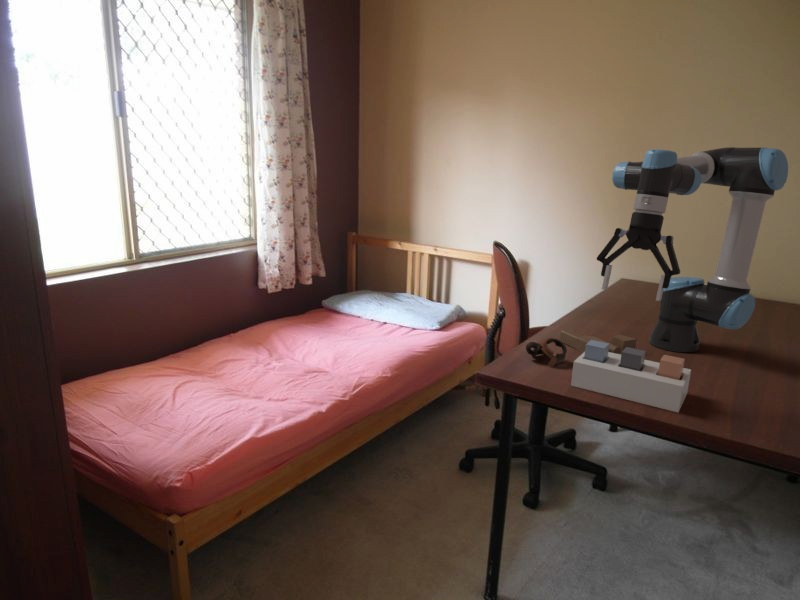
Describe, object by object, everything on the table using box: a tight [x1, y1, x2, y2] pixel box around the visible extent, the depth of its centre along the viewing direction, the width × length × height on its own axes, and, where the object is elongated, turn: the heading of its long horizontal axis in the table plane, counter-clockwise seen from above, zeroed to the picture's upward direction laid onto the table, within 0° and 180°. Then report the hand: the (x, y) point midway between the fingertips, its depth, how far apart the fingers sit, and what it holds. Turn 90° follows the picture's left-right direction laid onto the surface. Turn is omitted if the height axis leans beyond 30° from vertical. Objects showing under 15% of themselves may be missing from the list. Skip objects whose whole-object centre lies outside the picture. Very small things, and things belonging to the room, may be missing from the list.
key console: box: [570, 352, 692, 413], centre depth 153 cm, size 27×14×7 cm, turn 56°
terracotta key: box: [658, 354, 686, 380], centre depth 147 cm, size 5×5×5 cm
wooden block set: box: [559, 329, 637, 355], centre depth 187 cm, size 17×6×18 cm
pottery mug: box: [525, 337, 568, 368], centre depth 173 cm, size 12×10×8 cm
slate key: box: [584, 340, 610, 363], centre depth 157 cm, size 5×5×5 cm
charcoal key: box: [620, 347, 647, 371], centre depth 152 cm, size 5×5×5 cm
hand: (630, 294), depth 148 cm, fingers open, 13 cm apart
